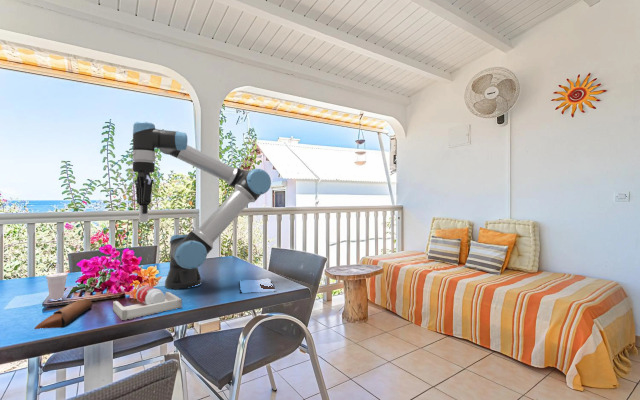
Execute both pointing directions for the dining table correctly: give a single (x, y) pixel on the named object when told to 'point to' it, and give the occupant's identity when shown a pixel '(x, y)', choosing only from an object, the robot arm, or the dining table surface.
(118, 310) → the tray
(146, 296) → the pill bottle
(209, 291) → the dining table surface
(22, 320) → the dining table surface
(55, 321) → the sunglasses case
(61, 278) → the smoothie
